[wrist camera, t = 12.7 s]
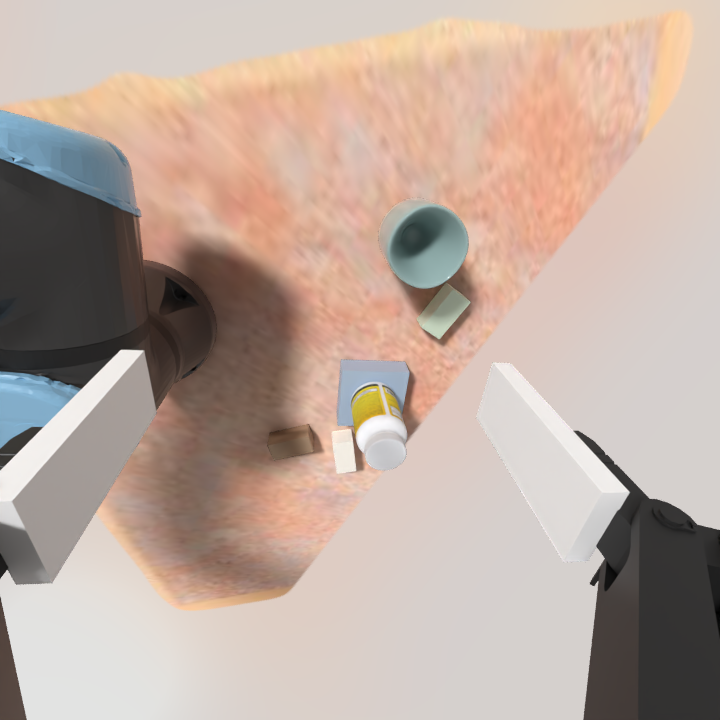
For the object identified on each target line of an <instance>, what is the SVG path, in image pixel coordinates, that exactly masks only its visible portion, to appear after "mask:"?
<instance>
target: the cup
mask: <svg viewBox="0 0 720 720" xmlns="http://www.w3.org/2000/svg"><path fill="white" fill-rule="evenodd" d="M378 242H379V247H380V250H381V252H382V255H383V257H384V259H385V261H386V262H387V264H388V265H389V267H390V268H391V270H392V271H393V273H394V274H395V275H396V276H397V277H398V278H399V279H400V280H402V281H403V282H405V283H406V284H408V285H410V286H412V287H416V288H420V289H429V288H433V287H436V286H439V285H441V284H443V283H444V282H446V281H447V280H449V279H450V278H451V277H452V276H453V275H454V274H455V273H456V272H457V271H458V269H459V268H460V267H461V265H462V263H463V262H464V260H465V257H466V255H467V252H468V246H469V241H468V234H467V231H466V228H465V226H464V224H463V222H462V221H461V220H460V218H459V217H458V216H457V215H456V214H455V213H454V212H452V211H451V210H450V209H448V208H447V207H445V206H443V205H441V204H439V203H436V202H434V201H431V200H427V199H424V198H409V199H405V200H403V201H401V202H398V203H397V204H396V205H394V206H393V207H392V208H391V209H390V210H389V211H388V212H387V214H386V215H385V216H384V218H383V220H382V222H381V224H380V227H379V231H378Z"/></svg>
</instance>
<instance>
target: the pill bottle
mask: <svg viewBox="0 0 720 720" xmlns="http://www.w3.org/2000/svg"><path fill="white" fill-rule="evenodd" d="M351 410H352V417H353V423H354V430H355V436H356V442H357V445H358V447H359V449H360V450H361V451H362V452H363V453H364V454H365V458H366V461H367V463H368V464H369V466H371V467H372V468H374V469H377V470H390V469H394V468H396V467H398V466H399V465H400V464H401V463H402V462H403V461H404V460H405V458H406V453H407V451H406V447H405V443H406V440H407V429H406V426H405V423H404V420H403V417H402V414H401V411H400V408H399V405H398V402H397V399H396V396H395V394H394V392H393V390H392V389H391V388H390V387H389V386H388V385H386V384H384V383H381V382H368V383H365V384H363V385H361V386H360V387H358V388H357V389H356V390H355V392H354V393H353V395H352V397H351Z"/></svg>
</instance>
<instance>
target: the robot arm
mask: <svg viewBox="0 0 720 720" xmlns="http://www.w3.org/2000/svg"><path fill="white" fill-rule="evenodd" d="M139 217H141V211H140V210H139V209H138V208H137V203H136V197H135V191H134V185H133V178H132V172H131V167H130V164H129V162H128V160H127V158H126V157H125V155H124V154H123V153H122V152H121V150H120V149H118V148H117V147H116V146H115V145H113V144H112V143H111V142H109V141H107V140H105V139H103V138H100V137H97V136H94V135H90V134H87V133H83V132H80V131H76V130H73V129H69V128H66V127H62V126H58V125H55V124H51V123H48V122H44V121H40V120H37V119H33V118H29V117H26V116H22V115H18V114H14V113H10V112H7V111H3V110H0V578H1V577H2V576H3V574H4V573H5V572H6V570H8V571H9V573H10V575H11V577H12V578H13V580H14V582H15V584H42V583H52V582H53V581H54V579H55V577H56V576H57V574H58V573H59V571H60V570H61V568H62V566H63V565H64V563H65V561H66V560H67V558H68V557H69V555H70V553H71V551H72V550H73V548H74V547H75V545H76V544H77V542H78V540H79V539H80V537H81V535H82V534H83V532H84V531H85V529H86V527H87V526H88V524H89V522H90V521H91V519H92V518H93V516H94V514H95V513H96V511H97V509H98V508H99V506H100V505H101V503H102V501H103V500H104V498H105V496H106V495H107V493H108V492H109V490H110V488H111V487H112V485H113V484H114V482H115V480H116V479H117V477H118V475H119V474H120V472H121V471H122V469H123V467H124V466H125V464H126V462H127V461H128V459H129V458H130V456H131V454H132V453H133V451H134V449H135V448H136V447H137V445H138V444H139V441H140V440H141V438H142V436H143V435H144V433H145V432H146V430H147V428H148V427H149V425H150V423H151V422H152V420H153V419H154V417H155V415H156V414H157V412H156V411H157V409H158V408H159V406H160V404H161V403H162V401H163V400H164V398H165V396H166V395H167V393H168V391H169V390H170V388H171V386H172V385H173V384H174V383H176V382H178V381H179V380H181V379H182V378H185V377H186V376H188V375H190V374H192V373H193V372H194V371H196V370H197V369H198V368H199V367H200V366H201V365H202V364H203V363H204V361H205V360H206V359H207V357H208V355H209V353H210V351H211V349H212V348H213V345H214V342H215V338H216V329H217V328H216V319H215V315H214V312H213V309H212V307H211V305H210V303H209V301H208V299H207V298H206V296H205V295H204V293H203V292H202V291H201V290H200V289H199V287H198V286H197V285H196V284H195V283H194V282H192V281H191V280H190V279H189V278H188V277H186V276H185V275H183V274H182V273H180V272H178V271H177V270H175V269H173V268H171V267H169V266H166V265H163V264H160V263H157V262H153V261H147V260H143V252H142V243H141V233H140V223H139ZM476 418H477V420H478V421H479V423H480V425H481V426H482V428H483V430H484V431H485V433H486V435H487V436H488V438H489V440H490V441H491V443H492V445H493V446H494V448H495V450H496V451H497V453H498V455H499V456H500V458H501V460H502V461H503V463H504V465H505V466H506V468H507V470H508V471H509V473H510V475H511V476H512V478H513V479H514V481H515V483H516V484H517V486H518V488H519V489H520V491H521V492H522V494H523V496H524V498H525V499H526V501H527V503H528V504H529V506H530V508H531V509H532V511H533V512H534V514H535V516H536V518H537V519H538V521H539V523H540V524H541V526H542V528H543V529H544V531H545V533H546V534H547V536H548V538H549V539H550V541H551V542H552V544H553V546H554V547H555V549H556V551H557V552H558V554H559V556H560V557H561V559H562V561H563V562H579V561H588V560H589V559H590V557H591V555H592V554H593V552H594V551H595V549H596V547H597V548H598V549H599V551H600V552H601V553H602V555H603V556H604V558H605V559H604V561H603V563H602V564H601V566H600V567H599V569H598V570H597V572H596V574H595V575H594V577H593V578H592V580H591V582H590V584H591V585H592V586H595V584H596V582H597V581H599V583H598V592H597V602H596V610H595V620H594V629H593V638H592V647H591V656H590V665H589V674H588V684H587V693H586V702H585V711H584V720H720V530H717V529H713V528H708V527H704V526H700V525H697V524H696V523H695V522H694V521H693V520H692V518H691V517H690V516H688V515H687V514H686V513H684V512H683V511H681V510H680V509H679V508H677V507H675V506H673V505H671V504H669V503H667V502H663V501H660V500H657V499H649V498H648V497H647V496H646V495H645V494H644V493H643V491H642V490H641V489H640V488H639V487H638V486H637V485H636V484H635V483H634V482H633V481H632V480H631V479H630V478H629V477H628V476H627V475H626V474H625V473H624V472H623V471H622V470H621V469H620V468H619V467H618V466H617V465H615V464H614V461H612V459H611V458H610V457H609V456H608V455H605V452H604V451H603V450H602V449H601V448H600V447H599V446H598V445H597V444H596V443H595V442H594V441H593V440H591V439H590V438H589V437H587V436H586V435H584V434H583V433H581V432H579V431H573V430H572V429H571V428H570V427H569V426H568V425H567V424H566V423H565V422H564V421H563V419H562V418H561V417H560V416H559V415H558V414H557V413H556V412H555V411H554V410H553V409H552V408H551V407H550V406H549V404H548V403H547V402H546V401H545V400H544V399H543V398H542V397H541V396H540V395H539V393H538V392H537V391H536V390H535V389H534V388H533V387H532V386H531V385H530V384H529V383H528V382H527V380H525V378H524V377H523V376H522V375H521V374H520V373H519V372H518V371H517V370H516V369H515V367H514V366H513V365H512V364H511V363H492V367H491V370H490V373H489V377H488V380H487V383H486V387H485V390H484V393H483V397H482V400H481V404H480V407H479V411H478V414H477V417H476ZM0 720H27V719H26V715H25V710H24V706H23V701H22V696H21V692H20V687H19V682H18V677H17V673H16V668H15V664H14V659H13V654H12V650H11V645H10V640H9V635H8V631H7V626H6V621H5V616H4V612H3V607H2V603H1V598H0Z"/></svg>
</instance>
